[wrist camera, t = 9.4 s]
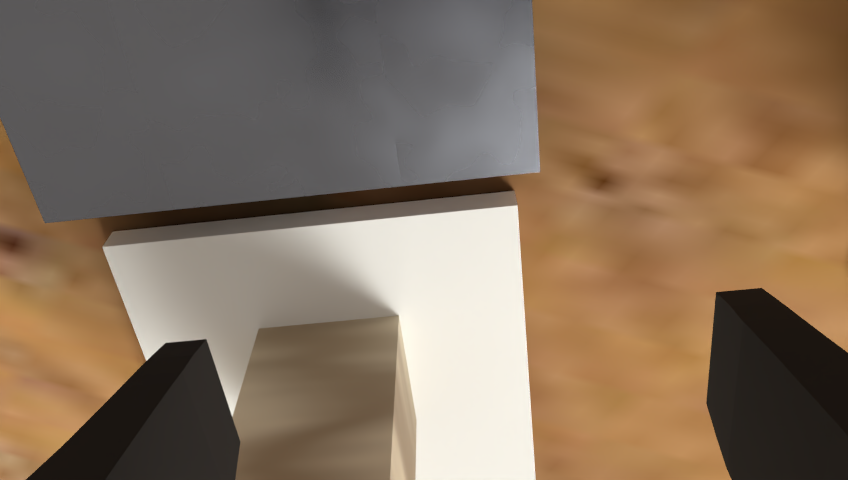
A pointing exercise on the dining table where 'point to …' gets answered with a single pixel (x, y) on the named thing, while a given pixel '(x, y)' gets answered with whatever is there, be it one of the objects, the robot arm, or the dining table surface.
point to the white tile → (360, 307)
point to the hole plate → (261, 98)
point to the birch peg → (327, 404)
